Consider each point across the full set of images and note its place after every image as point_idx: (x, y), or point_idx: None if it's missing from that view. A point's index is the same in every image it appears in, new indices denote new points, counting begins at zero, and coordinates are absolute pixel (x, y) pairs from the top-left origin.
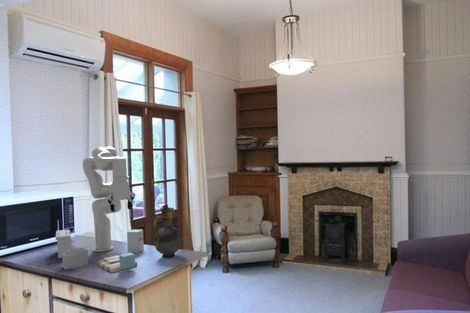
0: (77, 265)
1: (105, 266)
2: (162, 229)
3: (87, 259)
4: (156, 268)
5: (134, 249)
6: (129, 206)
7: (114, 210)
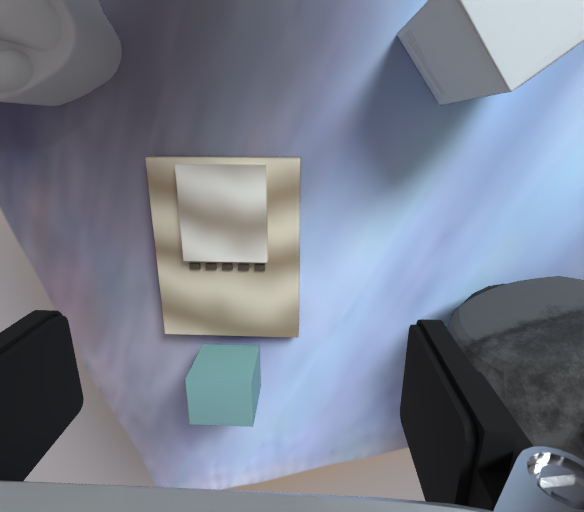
0: (44, 105)
1: (159, 265)
2: (551, 434)
3: (101, 71)
4: (339, 416)
5: (430, 78)
6: (414, 447)
7: (72, 417)
